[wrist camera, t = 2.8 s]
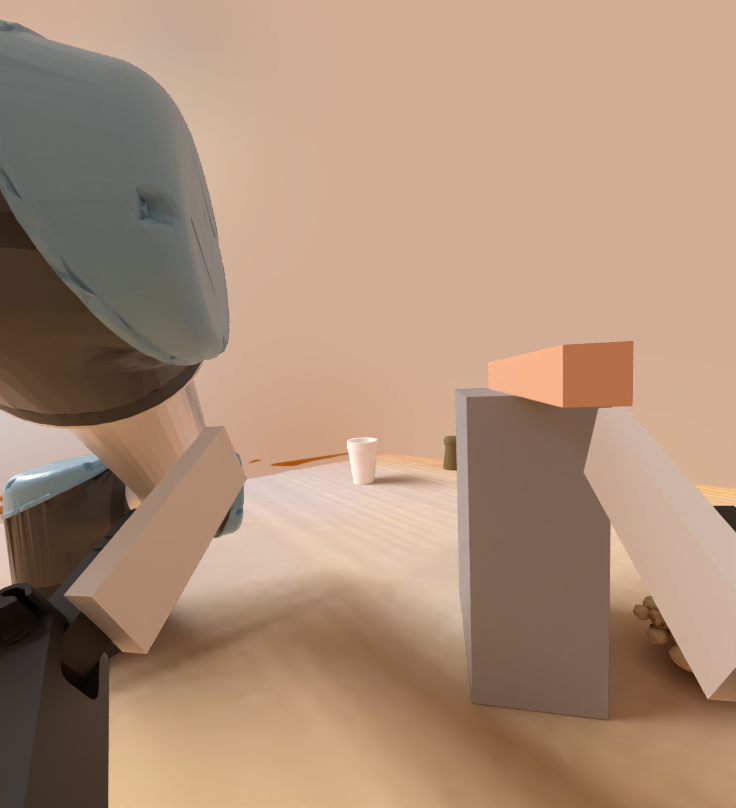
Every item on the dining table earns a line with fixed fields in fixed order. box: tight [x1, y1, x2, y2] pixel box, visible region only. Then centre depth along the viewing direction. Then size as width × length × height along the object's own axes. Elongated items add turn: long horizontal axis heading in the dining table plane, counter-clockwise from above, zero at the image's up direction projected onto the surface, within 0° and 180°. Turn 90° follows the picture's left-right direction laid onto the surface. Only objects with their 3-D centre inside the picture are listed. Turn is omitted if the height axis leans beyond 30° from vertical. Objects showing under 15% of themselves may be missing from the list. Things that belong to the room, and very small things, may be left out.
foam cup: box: [347, 438, 378, 485], centre depth 110 cm, size 10×9×13 cm
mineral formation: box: [633, 596, 693, 672], centre depth 38 cm, size 8×13×15 cm
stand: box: [455, 388, 612, 720], centre depth 41 cm, size 18×12×30 cm, turn 170°
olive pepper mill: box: [443, 436, 457, 470], centre depth 123 cm, size 6×6×11 cm
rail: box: [488, 341, 633, 408], centre depth 33 cm, size 28×4×4 cm, turn 170°
